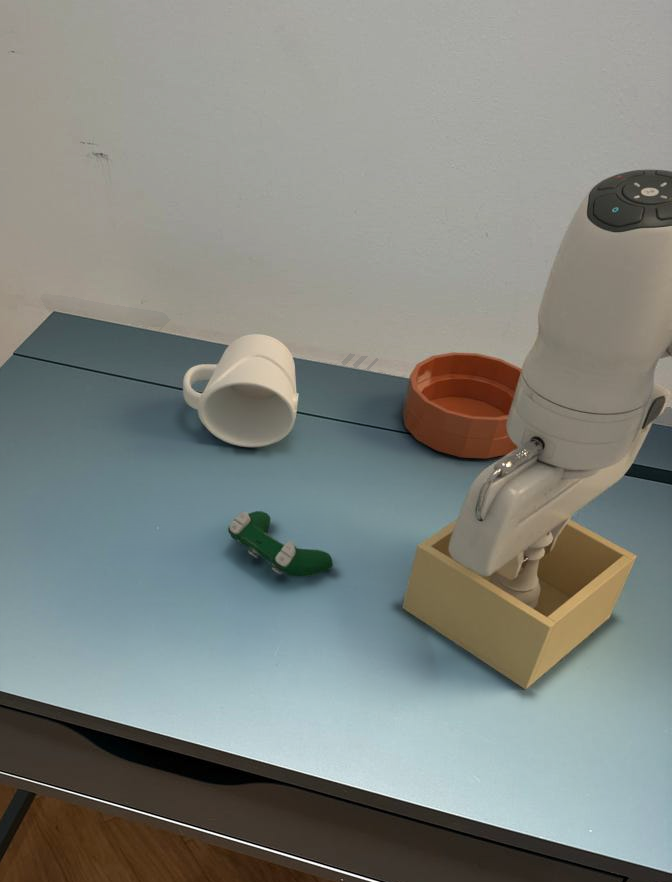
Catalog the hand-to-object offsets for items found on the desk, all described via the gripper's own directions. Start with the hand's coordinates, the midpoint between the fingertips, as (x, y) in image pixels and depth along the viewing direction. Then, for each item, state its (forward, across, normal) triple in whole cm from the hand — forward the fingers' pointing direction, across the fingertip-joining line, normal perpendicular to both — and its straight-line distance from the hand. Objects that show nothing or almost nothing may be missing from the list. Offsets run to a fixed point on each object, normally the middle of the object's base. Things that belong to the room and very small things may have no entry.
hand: (523, 561), depth 81 cm
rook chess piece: (+4, 0, 0) cm, 4 cm away
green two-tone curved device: (+6, -10, +18) cm, 21 cm away
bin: (+6, 0, 0) cm, 6 cm away
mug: (+6, +3, +36) cm, 37 cm away
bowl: (+6, +21, +20) cm, 30 cm away
